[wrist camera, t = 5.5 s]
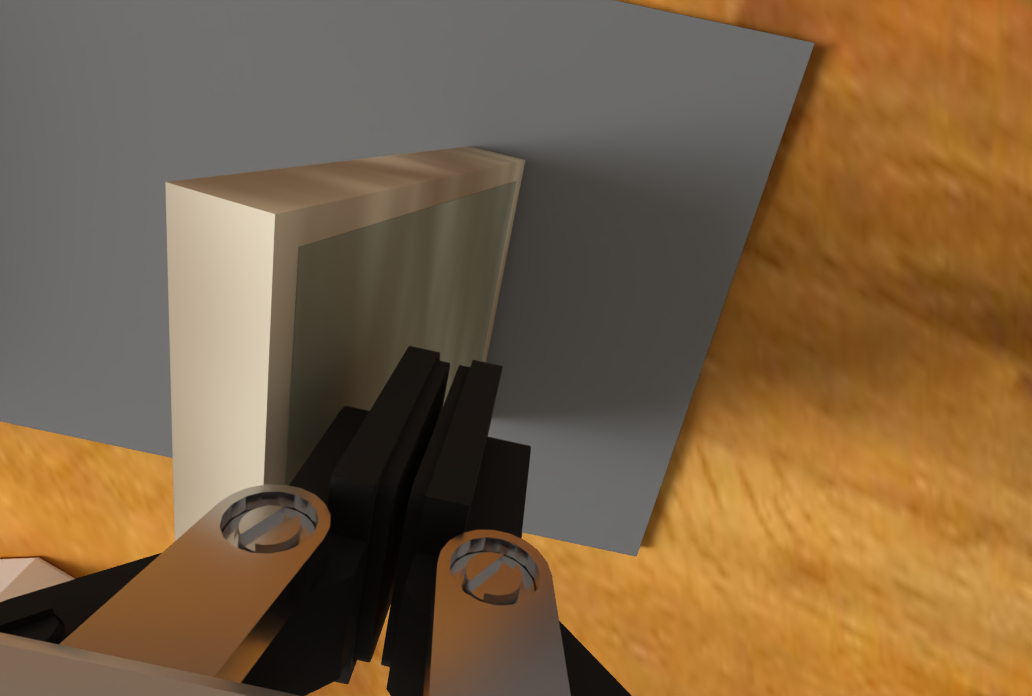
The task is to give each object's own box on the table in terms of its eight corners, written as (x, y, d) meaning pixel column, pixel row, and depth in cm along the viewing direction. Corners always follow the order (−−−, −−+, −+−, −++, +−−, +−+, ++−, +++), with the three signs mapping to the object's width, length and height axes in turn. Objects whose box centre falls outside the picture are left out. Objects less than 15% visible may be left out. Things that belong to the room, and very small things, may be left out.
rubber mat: (807, 43, 16) (814, 42, 15) (635, 546, 22) (636, 556, 22) (-146, -160, 16) (-167, -167, 15) (-44, 402, 22) (-57, 409, 22)
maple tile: (526, 160, 16) (277, 214, 8) (474, 423, 20) (256, 680, 11) (469, 146, 17) (166, 181, 8) (427, 406, 20) (177, 642, 11)
